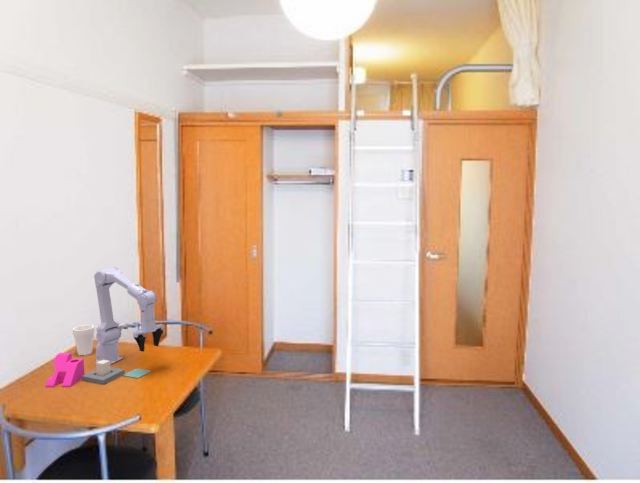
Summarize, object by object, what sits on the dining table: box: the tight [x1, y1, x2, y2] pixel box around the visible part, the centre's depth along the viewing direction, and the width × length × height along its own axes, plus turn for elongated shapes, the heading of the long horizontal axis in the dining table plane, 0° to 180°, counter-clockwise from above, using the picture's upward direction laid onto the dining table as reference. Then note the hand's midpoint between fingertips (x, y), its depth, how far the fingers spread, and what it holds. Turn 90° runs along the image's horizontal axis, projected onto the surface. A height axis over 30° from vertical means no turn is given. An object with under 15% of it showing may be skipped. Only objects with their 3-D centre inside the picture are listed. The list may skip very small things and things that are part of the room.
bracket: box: [44, 352, 86, 388], centre depth 202 cm, size 12×10×10 cm
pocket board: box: [81, 366, 126, 385], centre depth 207 cm, size 12×12×2 cm
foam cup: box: [72, 324, 95, 356], centre depth 235 cm, size 10×9×13 cm
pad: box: [122, 368, 152, 380], centre depth 210 cm, size 8×8×1 cm
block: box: [95, 360, 111, 376], centre depth 206 cm, size 4×4×7 cm
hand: (149, 348), depth 213 cm, fingers open, 7 cm apart
